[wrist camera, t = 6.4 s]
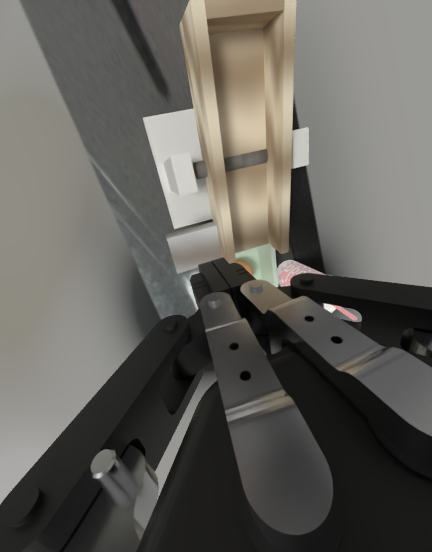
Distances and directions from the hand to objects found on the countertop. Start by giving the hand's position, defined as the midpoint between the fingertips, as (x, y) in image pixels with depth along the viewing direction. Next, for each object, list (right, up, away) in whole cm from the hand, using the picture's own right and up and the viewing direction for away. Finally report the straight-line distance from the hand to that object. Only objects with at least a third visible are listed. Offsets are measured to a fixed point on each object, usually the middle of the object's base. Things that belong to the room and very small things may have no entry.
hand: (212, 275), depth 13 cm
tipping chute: (0, +11, +9) cm, 14 cm away
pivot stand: (0, +14, +15) cm, 20 cm away
